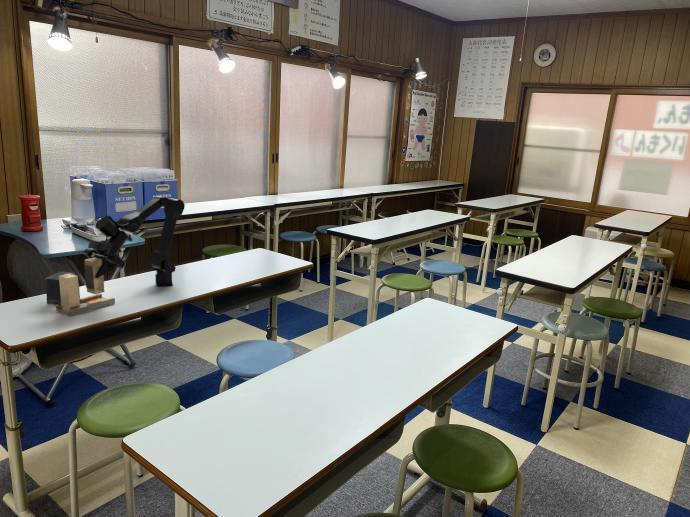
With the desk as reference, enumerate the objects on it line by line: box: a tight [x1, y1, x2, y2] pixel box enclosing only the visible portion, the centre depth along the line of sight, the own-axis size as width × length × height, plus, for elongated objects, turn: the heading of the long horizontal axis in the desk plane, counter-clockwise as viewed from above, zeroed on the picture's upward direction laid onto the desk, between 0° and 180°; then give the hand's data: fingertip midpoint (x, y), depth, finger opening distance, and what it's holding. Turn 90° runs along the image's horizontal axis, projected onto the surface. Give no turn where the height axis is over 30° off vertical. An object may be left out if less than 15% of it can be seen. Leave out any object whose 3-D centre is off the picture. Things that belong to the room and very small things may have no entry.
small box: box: [44, 270, 76, 305], centre depth 199 cm, size 11×6×10 cm, turn 179°
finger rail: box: [55, 274, 116, 317], centre depth 193 cm, size 18×9×14 cm, turn 151°
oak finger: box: [83, 258, 105, 295], centre depth 196 cm, size 5×5×13 cm
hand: (91, 276), depth 195 cm, fingers closed on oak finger, 5 cm apart
